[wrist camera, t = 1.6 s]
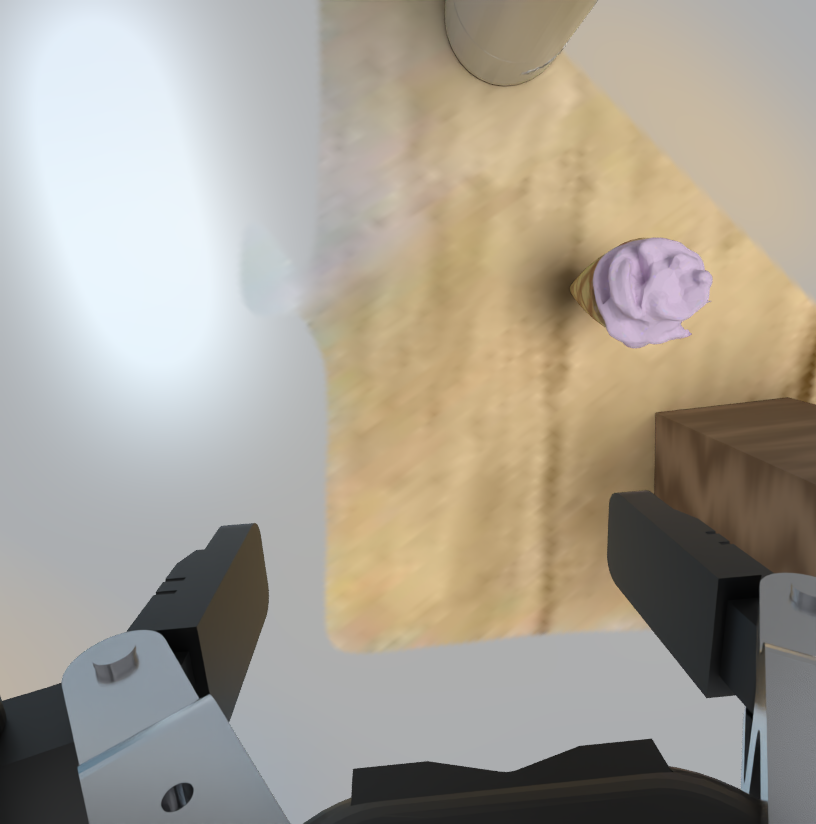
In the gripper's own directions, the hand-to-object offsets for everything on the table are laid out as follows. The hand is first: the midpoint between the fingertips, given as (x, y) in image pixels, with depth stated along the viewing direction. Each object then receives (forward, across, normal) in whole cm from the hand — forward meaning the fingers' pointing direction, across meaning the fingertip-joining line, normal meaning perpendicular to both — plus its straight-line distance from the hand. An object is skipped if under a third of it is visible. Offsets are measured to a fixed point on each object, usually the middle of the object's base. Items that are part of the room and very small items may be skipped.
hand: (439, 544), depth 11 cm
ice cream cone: (+32, +15, +4) cm, 35 cm away
